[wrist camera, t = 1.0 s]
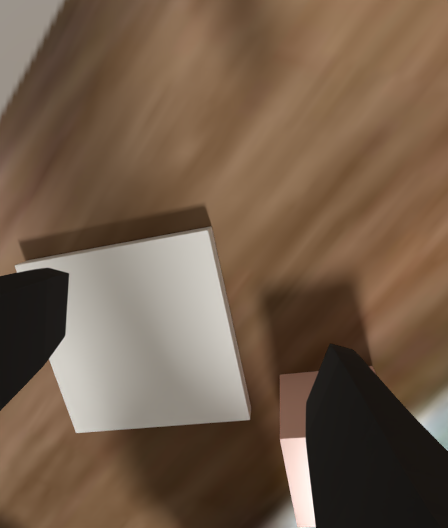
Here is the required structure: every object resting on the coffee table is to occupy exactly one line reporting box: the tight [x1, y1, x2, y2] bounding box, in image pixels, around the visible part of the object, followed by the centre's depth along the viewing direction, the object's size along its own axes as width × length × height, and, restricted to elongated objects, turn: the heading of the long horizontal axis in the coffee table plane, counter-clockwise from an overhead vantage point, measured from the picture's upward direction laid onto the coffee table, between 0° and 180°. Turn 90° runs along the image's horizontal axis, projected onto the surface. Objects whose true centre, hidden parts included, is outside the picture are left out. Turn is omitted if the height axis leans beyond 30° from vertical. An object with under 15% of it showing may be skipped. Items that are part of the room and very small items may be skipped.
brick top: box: [280, 366, 376, 527], centre depth 18 cm, size 5×5×5 cm
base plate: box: [15, 226, 251, 433], centre depth 21 cm, size 11×11×1 cm
